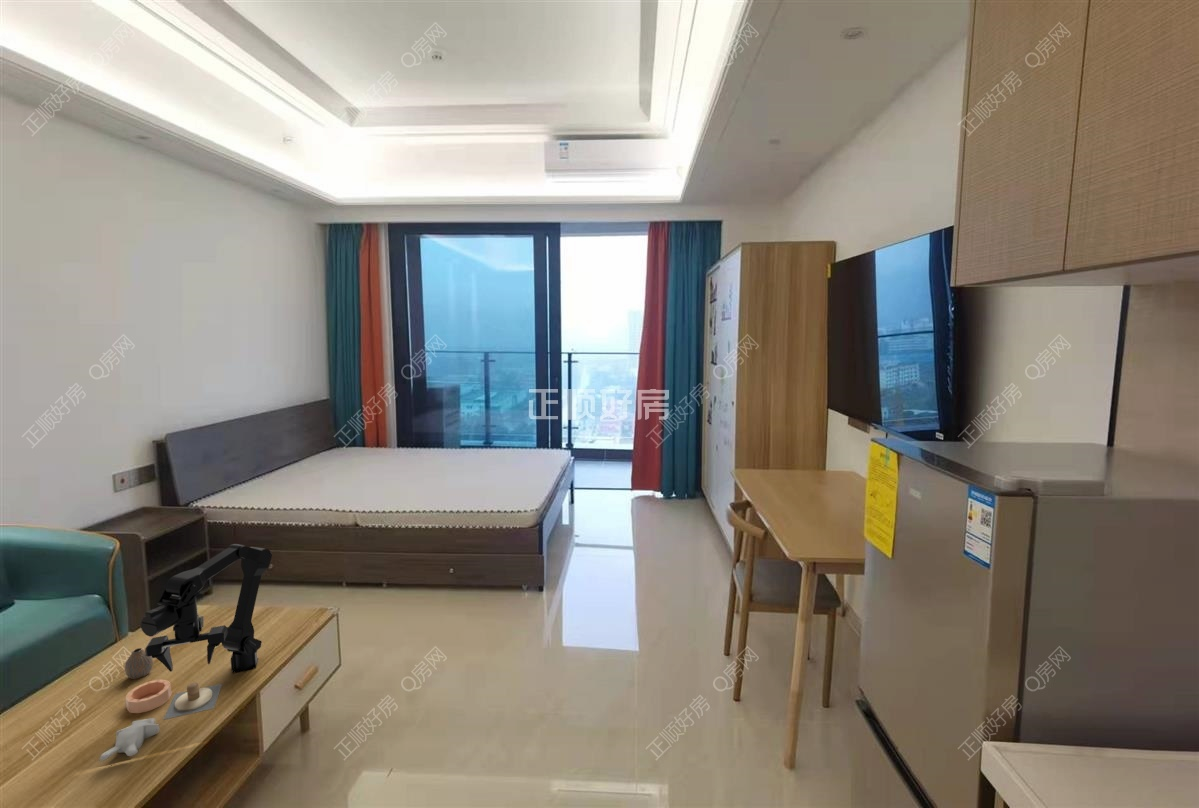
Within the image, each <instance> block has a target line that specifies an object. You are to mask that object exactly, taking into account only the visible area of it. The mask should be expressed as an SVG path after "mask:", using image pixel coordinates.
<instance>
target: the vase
mask: <svg viewBox="0 0 1199 808" xmlns="http://www.w3.org/2000/svg"><path fill="white" fill-rule="evenodd" d="M153 665H154V658H152V656H148V657H147V656H146V654H145V649H143V648H140V647H139V648H135V649H133V650H132V651H131V654H130V655H129V657H128V658H127V659H126V661H125V664H124V672H125V675H126V676H127V677H128V678H129V679H131V680H136V679H140V678H143V677H147V676H148V675H149V674H150V672H151V671H152V669H153Z"/></svg>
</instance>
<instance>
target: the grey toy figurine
mask: <svg viewBox="0 0 1199 808" xmlns="http://www.w3.org/2000/svg"><path fill="white" fill-rule="evenodd" d="M159 732H160V724H159V723H156V718H155V717H150V718H145V719H144V718H143V719H137V720H133V721H132V722H131V725H129V726H127V727H124V728H122V729H119V730H117V731H115V733H116V734H115V735H116V740H115V742H114V743H115V745H114V746H113V747H111V748H109V749H108V750H107V751H105V752H103V753H101V755H100V757H99V759H98V761H99V762H102V761H105V760H107V759H109V758H111V757H112V756H113V755H114V754H115V753H117V754H120V753H125V755H126V756H128V757H132V756H135V755H136V754H138V752H139V751H138V750H140V748H141V747H142V745H143V744H144V741H145V739H148V738H151V737H152V736H154V735H157V734H158V733H159Z"/></svg>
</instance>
